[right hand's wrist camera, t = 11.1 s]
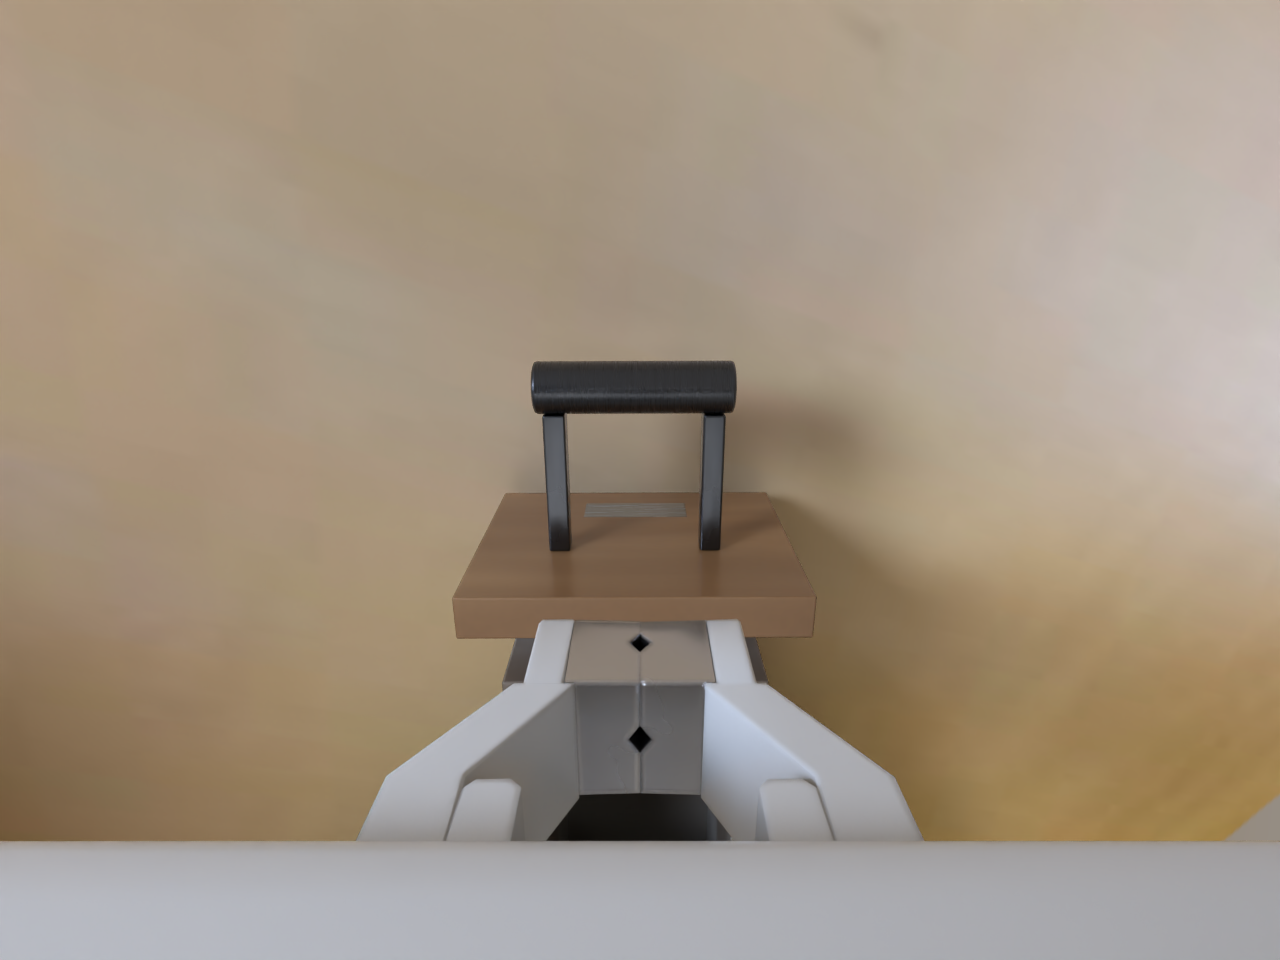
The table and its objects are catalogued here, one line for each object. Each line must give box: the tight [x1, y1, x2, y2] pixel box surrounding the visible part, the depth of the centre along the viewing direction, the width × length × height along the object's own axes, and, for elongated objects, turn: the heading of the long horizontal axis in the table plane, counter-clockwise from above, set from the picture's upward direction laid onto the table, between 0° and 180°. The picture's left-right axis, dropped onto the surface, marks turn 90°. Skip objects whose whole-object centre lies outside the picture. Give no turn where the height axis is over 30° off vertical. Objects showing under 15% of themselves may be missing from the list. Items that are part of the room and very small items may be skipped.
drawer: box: [452, 361, 817, 841], centre depth 23 cm, size 23×9×7 cm, turn 0°
